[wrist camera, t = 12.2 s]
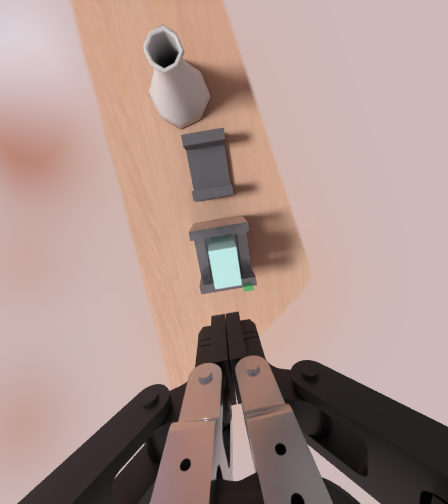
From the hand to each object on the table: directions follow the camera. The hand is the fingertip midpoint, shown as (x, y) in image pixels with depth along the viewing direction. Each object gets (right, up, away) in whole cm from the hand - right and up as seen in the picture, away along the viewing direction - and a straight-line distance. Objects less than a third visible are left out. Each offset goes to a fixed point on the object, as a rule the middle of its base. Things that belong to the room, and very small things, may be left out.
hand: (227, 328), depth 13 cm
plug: (0, +4, +20) cm, 21 cm away
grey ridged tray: (-2, +15, +19) cm, 24 cm away
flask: (-6, +24, +17) cm, 29 cm away
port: (0, +5, +21) cm, 22 cm away
